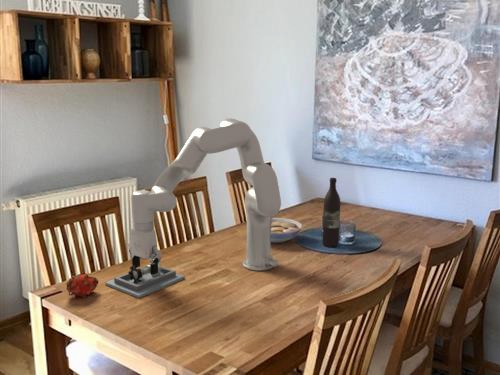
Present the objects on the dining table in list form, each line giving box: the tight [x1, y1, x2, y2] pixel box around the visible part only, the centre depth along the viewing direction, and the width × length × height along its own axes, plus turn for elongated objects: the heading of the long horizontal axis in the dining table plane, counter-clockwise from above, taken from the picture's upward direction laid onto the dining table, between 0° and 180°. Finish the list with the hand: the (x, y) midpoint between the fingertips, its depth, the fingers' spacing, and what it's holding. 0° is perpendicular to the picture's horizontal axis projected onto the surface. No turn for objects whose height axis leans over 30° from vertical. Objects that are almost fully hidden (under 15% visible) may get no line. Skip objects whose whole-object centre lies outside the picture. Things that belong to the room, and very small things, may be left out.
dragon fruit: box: [65, 273, 99, 298], centre depth 186 cm, size 8×8×12 cm
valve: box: [127, 257, 162, 283], centre depth 198 cm, size 7×7×12 cm
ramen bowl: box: [271, 217, 303, 244], centre depth 244 cm, size 25×23×8 cm
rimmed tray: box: [104, 265, 186, 299], centre depth 198 cm, size 18×22×3 cm
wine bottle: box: [321, 177, 341, 248], centre depth 236 cm, size 7×7×30 cm
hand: (145, 270), depth 197 cm, fingers open, 9 cm apart
